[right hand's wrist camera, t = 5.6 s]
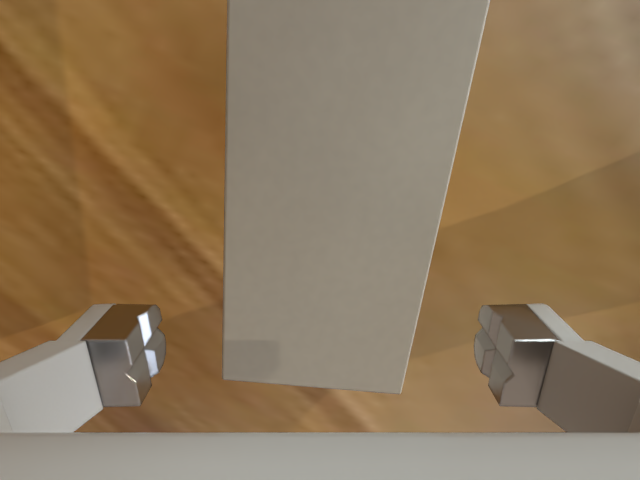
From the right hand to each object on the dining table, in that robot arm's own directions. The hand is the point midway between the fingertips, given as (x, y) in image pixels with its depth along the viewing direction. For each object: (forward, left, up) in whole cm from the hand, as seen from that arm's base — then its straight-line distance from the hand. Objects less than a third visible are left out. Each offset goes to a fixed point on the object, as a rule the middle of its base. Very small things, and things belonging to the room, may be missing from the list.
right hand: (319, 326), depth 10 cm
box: (+5, +8, -14) cm, 17 cm away
